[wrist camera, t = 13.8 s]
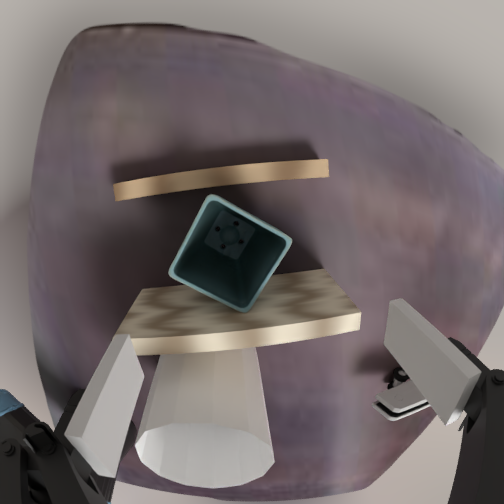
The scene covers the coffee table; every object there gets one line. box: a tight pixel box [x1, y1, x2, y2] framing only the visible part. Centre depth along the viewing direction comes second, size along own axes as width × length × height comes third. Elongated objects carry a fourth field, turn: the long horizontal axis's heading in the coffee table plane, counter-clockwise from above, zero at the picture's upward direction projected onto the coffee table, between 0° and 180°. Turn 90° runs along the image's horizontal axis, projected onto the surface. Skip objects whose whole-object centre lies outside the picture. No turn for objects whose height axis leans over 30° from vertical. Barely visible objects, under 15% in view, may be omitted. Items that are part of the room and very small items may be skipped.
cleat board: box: [112, 159, 361, 355], centre depth 29 cm, size 24×16×12 cm, turn 96°
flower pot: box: [168, 194, 292, 313], centre depth 31 cm, size 9×9×9 cm
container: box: [135, 347, 275, 488], centre depth 32 cm, size 14×14×18 cm
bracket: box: [372, 368, 431, 421], centre depth 40 cm, size 4×10×15 cm
